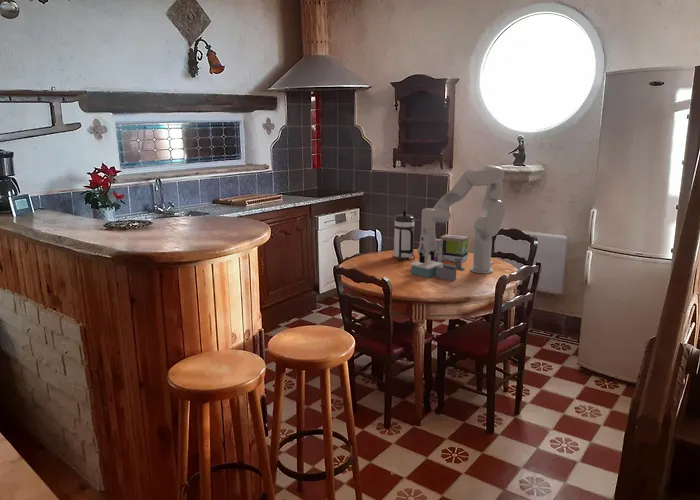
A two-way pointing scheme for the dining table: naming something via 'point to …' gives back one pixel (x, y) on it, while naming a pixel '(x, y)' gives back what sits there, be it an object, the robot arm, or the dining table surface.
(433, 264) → the lid
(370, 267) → the dining table surface
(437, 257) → the candy bar box
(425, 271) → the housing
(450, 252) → the tea box
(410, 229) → the coffee press
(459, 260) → the bolt
